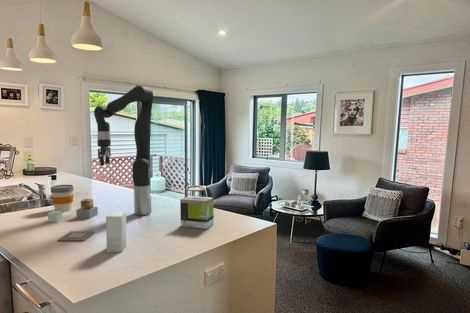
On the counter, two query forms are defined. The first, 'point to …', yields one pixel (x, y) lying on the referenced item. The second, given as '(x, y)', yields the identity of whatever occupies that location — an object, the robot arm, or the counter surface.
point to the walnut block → (86, 204)
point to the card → (77, 236)
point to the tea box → (197, 212)
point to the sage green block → (54, 216)
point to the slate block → (87, 213)
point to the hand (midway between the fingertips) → (104, 164)
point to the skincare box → (116, 231)
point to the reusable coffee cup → (62, 197)
